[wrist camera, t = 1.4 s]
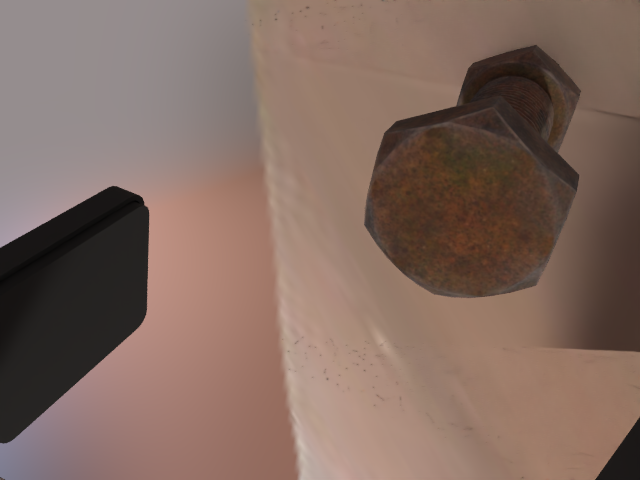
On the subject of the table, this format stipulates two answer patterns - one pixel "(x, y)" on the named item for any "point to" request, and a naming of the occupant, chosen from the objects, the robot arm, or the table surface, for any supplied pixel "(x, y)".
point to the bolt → (479, 180)
